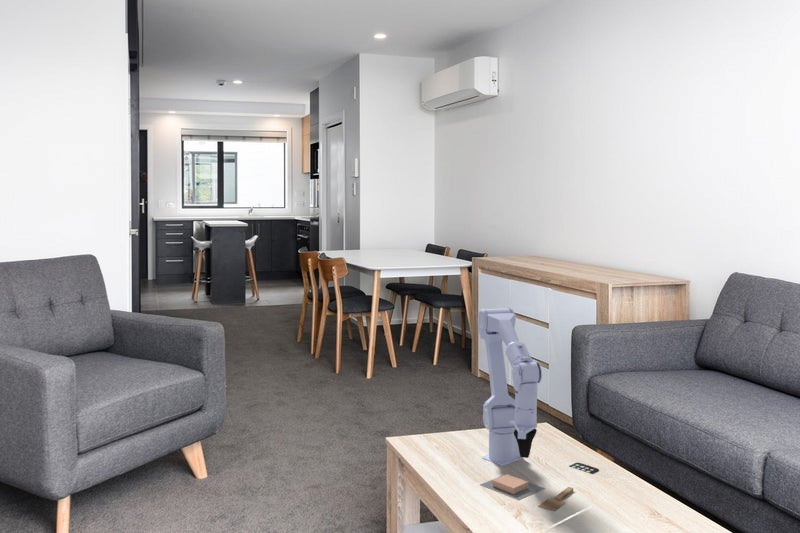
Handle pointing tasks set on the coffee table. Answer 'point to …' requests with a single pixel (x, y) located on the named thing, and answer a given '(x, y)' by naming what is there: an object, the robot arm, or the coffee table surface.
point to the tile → (510, 484)
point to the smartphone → (584, 468)
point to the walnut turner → (556, 500)
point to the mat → (519, 495)
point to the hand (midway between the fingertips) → (524, 456)
